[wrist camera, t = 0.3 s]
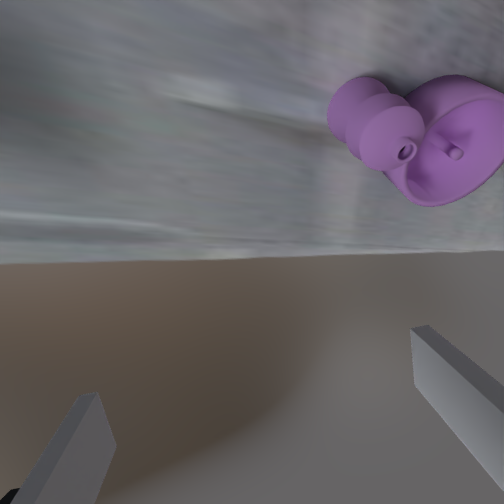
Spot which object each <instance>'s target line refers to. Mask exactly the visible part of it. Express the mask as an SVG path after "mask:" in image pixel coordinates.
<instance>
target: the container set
mask: <svg viewBox="0 0 504 504" xmlns="http://www.w3.org/2000/svg"><path fill="white" fill-rule="evenodd" d="M327 120H328V125H329V128H330V130H331V132H332V133H333V135H334V136H335V137H336V138H337V139H339V140H340V141H342V142H344V143H347V146H348V148H349V150H350V152H351V153H352V154H353V155H354V156H355V157H357V158H358V159H360V160H362V161H363V163H364V164H365V165H366V166H367V167H369V168H371V169H374V170H378V171H382V172H383V173H384V174H385V175H386V177H387V178H388V179H389V180H390V181H391V182H392V183H393V184H394V185H395V186H396V187H397V188H398V189H399V190H400V191H401V192H402V193H403V194H404V195H405V196H406V197H407V198H408V199H409V200H410V201H412V202H413V203H415V204H417V205H421V206H428V207H434V206H441V205H445V204H448V203H452V202H454V201H456V200H459V199H461V198H463V197H465V196H466V195H468V194H470V193H471V192H473V191H474V190H476V189H477V188H478V187H480V186H481V185H482V184H484V183H485V182H486V181H487V180H488V179H489V178H490V177H491V176H492V175H493V174H494V173H495V172H496V171H497V170H498V169H499V167H500V166H501V165H502V164H503V162H504V94H503V93H501V92H499V91H496V90H494V89H492V88H490V87H488V86H485V85H483V84H481V83H479V82H477V81H475V80H472V79H470V78H468V77H466V76H460V75H446V76H442V77H439V78H435V79H432V80H430V81H428V82H426V83H424V84H422V85H421V86H419V87H418V88H416V89H415V90H414V91H412V92H411V93H410V94H409V95H407V96H406V97H405V98H403V97H401V96H399V95H396V94H390V92H389V91H388V89H387V88H386V86H385V85H384V84H383V83H381V82H380V81H378V80H376V79H374V78H370V77H360V78H356V79H352V80H350V81H348V82H347V83H345V84H344V85H343V86H341V87H340V88H339V89H338V91H337V92H336V93H335V94H334V96H333V98H332V100H331V101H330V104H329V107H328V112H327Z"/></svg>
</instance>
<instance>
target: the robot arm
mask: <svg viewBox="0 0 504 504" xmlns="http://www.w3.org/2000/svg"><path fill="white" fill-rule="evenodd" d="M410 332H411V345H412V358H413V372H414V385H415V386H416V387H417V389H418V390H419V391H420V392H421V393H422V395H423V396H424V397H425V398H426V399H427V401H428V402H429V403H430V404H431V405H432V407H433V408H434V409H435V410H436V411H437V413H438V414H439V415H440V416H441V417H442V419H443V420H444V421H445V422H446V423H447V424H448V426H449V427H450V428H451V429H452V430H453V432H454V433H455V434H456V435H457V436H458V438H459V439H460V440H461V441H462V442H463V444H464V445H465V446H466V447H467V448H468V450H469V451H470V452H471V453H472V454H473V455H474V457H475V458H476V459H477V460H478V461H479V463H480V464H481V465H482V466H483V468H484V469H485V470H486V471H487V472H488V474H489V475H490V476H491V477H492V478H493V479H494V481H495V482H496V483H497V484H498V485H499V487H500V488H501V489H502V490H503V491H504V386H503V385H501V384H500V383H499V382H498V381H497V380H495V379H494V378H493V377H492V376H491V375H489V374H488V373H487V372H486V371H484V370H483V369H482V368H481V367H479V366H478V365H477V364H476V363H475V362H473V361H472V360H471V359H470V358H468V357H467V356H466V355H465V354H463V353H462V352H461V351H459V349H457V348H456V347H455V346H454V345H452V344H451V343H450V342H449V341H447V340H446V339H445V338H444V337H442V336H441V335H440V334H439V333H438V332H436V331H435V330H434V329H433V328H432V327H430V326H429V325H425V326H420V327H415V328H411V329H410ZM116 447H117V446H116V443H115V440H114V437H113V434H112V431H111V429H110V426H109V423H108V420H107V417H106V414H105V411H104V409H103V406H102V403H101V400H100V397H99V394H98V392H95V393H89V394H84V395H80V396H79V397H78V398H77V400H76V401H75V403H74V404H73V406H72V408H71V409H70V411H69V412H68V414H67V416H66V417H65V419H64V420H63V422H62V423H61V425H60V426H59V428H58V430H57V431H56V433H55V434H54V436H53V437H52V439H51V441H50V442H49V444H48V445H47V447H46V449H45V450H44V451H43V453H42V455H41V456H40V458H39V460H38V461H37V462H36V464H35V466H34V467H33V469H32V470H31V472H30V474H29V475H28V477H27V478H26V480H25V481H24V483H23V485H22V486H21V488H17V489H13V490H10V491H9V492H8V493H7V494H6V495H5V496H4V497H3V498H2V499H1V500H0V504H94V503H95V500H96V498H97V495H98V493H99V490H100V487H101V485H102V482H103V480H104V477H105V475H106V472H107V470H108V467H109V464H110V462H111V459H112V457H113V454H114V452H115V449H116Z"/></svg>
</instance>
